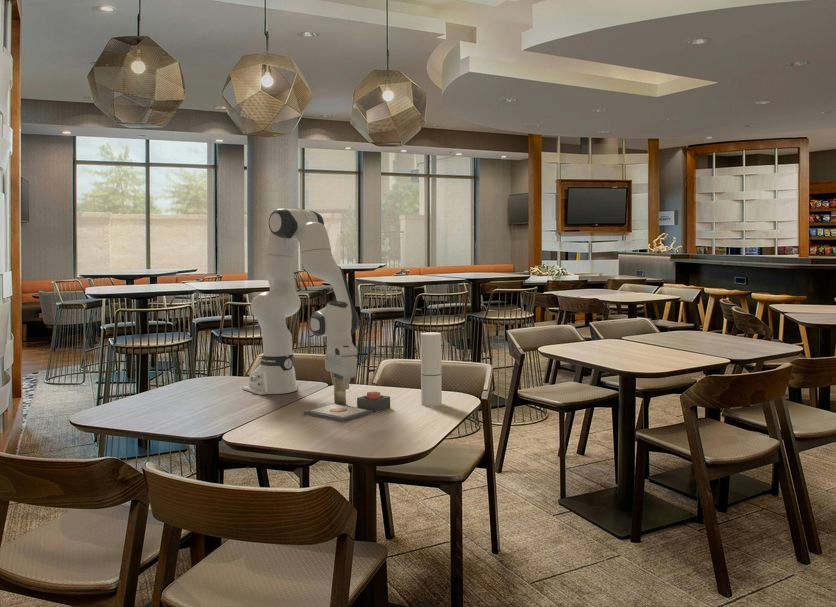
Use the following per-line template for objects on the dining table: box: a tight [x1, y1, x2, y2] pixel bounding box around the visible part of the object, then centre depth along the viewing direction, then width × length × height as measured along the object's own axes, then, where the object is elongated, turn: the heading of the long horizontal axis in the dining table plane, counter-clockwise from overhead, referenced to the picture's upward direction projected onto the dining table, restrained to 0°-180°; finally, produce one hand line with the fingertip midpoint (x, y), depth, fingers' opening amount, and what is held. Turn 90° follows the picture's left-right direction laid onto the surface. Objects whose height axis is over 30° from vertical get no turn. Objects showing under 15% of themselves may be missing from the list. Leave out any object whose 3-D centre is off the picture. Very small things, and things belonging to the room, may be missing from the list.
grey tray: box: [303, 402, 374, 423], centre depth 221 cm, size 18×14×1 cm
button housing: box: [356, 394, 391, 414], centre depth 227 cm, size 8×8×4 cm
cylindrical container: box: [420, 331, 443, 407], centre depth 232 cm, size 7×7×25 cm
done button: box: [366, 391, 381, 400], centre depth 227 cm, size 5×5×3 cm
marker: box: [333, 373, 347, 406], centre depth 233 cm, size 4×4×11 cm
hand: (340, 386), depth 233 cm, fingers open, 8 cm apart
